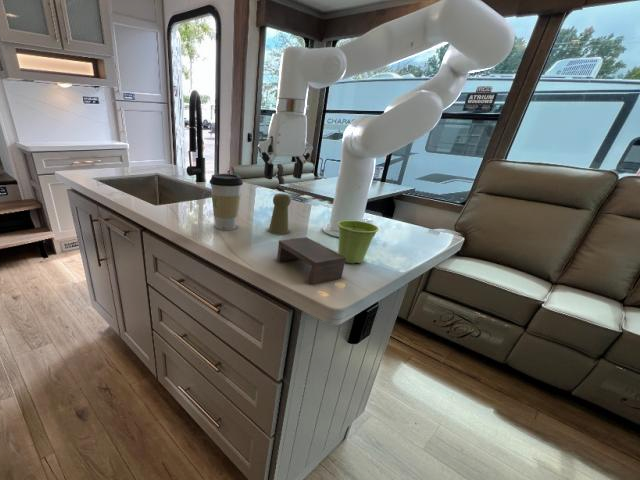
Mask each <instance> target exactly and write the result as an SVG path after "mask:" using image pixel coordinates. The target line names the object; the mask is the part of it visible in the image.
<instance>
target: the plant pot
mask: <svg viewBox="0 0 640 480" xmlns="http://www.w3.org/2000/svg"><path fill="white" fill-rule="evenodd" d="M338 226H339V237H338V247H337V248H338V249H337V253H338V254H340V255H342V256H344V257H346V260H345V263H348V264H355V263H357V264H361V263H363V261H364V259H365V257H366V255H367V253H368V251H369V248H370V246H371V243H372V240H373V238H374V237H375V235H376V233H377V232H379V231H380V227H379V226H377V225H375V224H374V223H372V224H370V223H366V222H361V221H352V220H345V221H340V222H338Z"/></svg>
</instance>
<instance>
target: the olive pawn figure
mask: <svg viewBox="0 0 640 480" xmlns="http://www.w3.org/2000/svg"><path fill="white" fill-rule="evenodd" d="M291 198H292V197H290V195H289V194H286V193H276V194H275V195H274V196H273V198H272V204H273V205H274V206H273V209H272V214H271V219H270V223H269V227H268V231H269V233H272V234H277V235H285V234H288V233H289V206H290V204H291V202H292V199H291Z"/></svg>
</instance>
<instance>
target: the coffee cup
mask: <svg viewBox="0 0 640 480" xmlns="http://www.w3.org/2000/svg"><path fill="white" fill-rule="evenodd" d="M209 184H210V190H211V192H210V193H211V194H210V195H211V201H212V202H211V203H212V213H213V217H214V224H215V225H214V226H215V229H218V230H223V231H231V230H234V229H236V225H237V218H238V213H239V208H240V200H241V195H242V194H241V192H242V191H241V190H242V185H243V184H244V182H243V180H242V176H241V175H239V174H232V173H215V174H212V175H211V178H210V179H209Z"/></svg>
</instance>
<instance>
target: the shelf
mask: <svg viewBox="0 0 640 480" xmlns="http://www.w3.org/2000/svg"><path fill="white" fill-rule="evenodd" d="M276 256H277V257H276V261H277V262H279V263H281V262H288V261H294V260H295V261H296V260H301V261H303V262H304V263H305V264H308V265H309V266H310V273H309V279H308V283H309V284H310V285H318V284H323V283H326V282H332V281H337V280H341V279H342V277H343V273H344V268H345V264H346V262H345V260H346V257H344V256H342V255H340V254H338V252H336V251H334V250H332V249H330V248H328V247H326V246H325V245H322V244H320V243H319V242H317V241H316V240H313V239H311V238H309V237H307V236H304V237H297V238H289V239H282V240H278V246H277V255H276Z"/></svg>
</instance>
